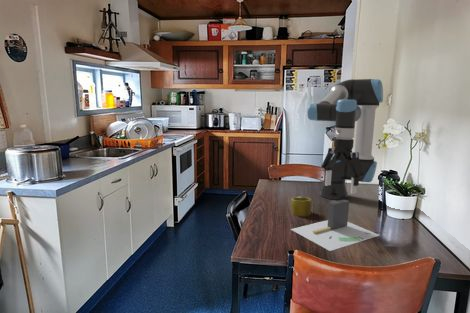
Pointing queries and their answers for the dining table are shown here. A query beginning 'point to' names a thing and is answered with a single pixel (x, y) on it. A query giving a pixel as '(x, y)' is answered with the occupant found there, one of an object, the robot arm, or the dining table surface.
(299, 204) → the mug
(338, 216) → the gray bar
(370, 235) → the board
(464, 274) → the dining table surface
